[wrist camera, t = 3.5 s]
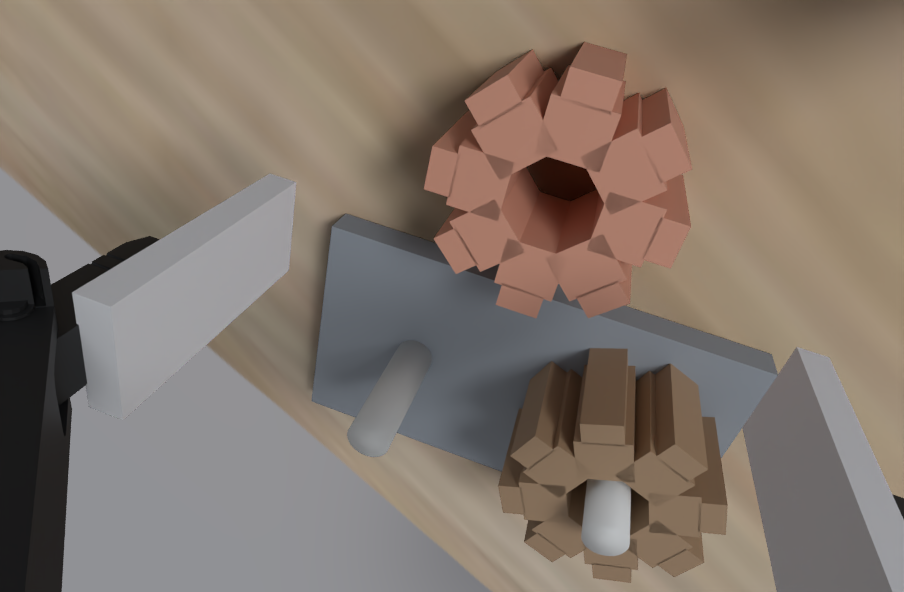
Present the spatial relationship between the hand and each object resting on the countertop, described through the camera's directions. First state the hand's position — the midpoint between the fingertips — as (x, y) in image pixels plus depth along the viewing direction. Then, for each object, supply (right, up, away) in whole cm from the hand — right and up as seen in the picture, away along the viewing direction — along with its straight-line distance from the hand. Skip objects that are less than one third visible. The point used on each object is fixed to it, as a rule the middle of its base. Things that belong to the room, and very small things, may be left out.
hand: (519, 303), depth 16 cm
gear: (+3, +6, +9) cm, 11 cm away
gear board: (+2, -4, +15) cm, 15 cm away
